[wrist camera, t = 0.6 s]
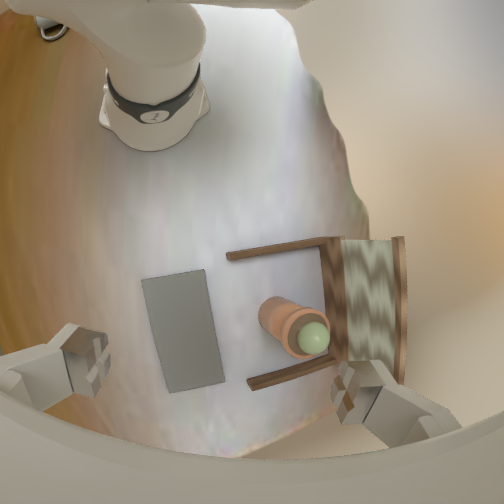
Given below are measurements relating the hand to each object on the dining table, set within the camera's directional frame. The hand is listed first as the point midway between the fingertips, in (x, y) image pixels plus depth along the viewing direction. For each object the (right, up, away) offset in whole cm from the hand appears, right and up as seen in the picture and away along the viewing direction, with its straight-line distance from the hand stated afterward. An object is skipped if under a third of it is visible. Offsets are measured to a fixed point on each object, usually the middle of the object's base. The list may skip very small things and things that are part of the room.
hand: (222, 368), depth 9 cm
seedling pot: (+5, -7, +41) cm, 42 cm away
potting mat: (-10, -10, +36) cm, 39 cm away
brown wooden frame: (+7, -7, +41) cm, 42 cm away
